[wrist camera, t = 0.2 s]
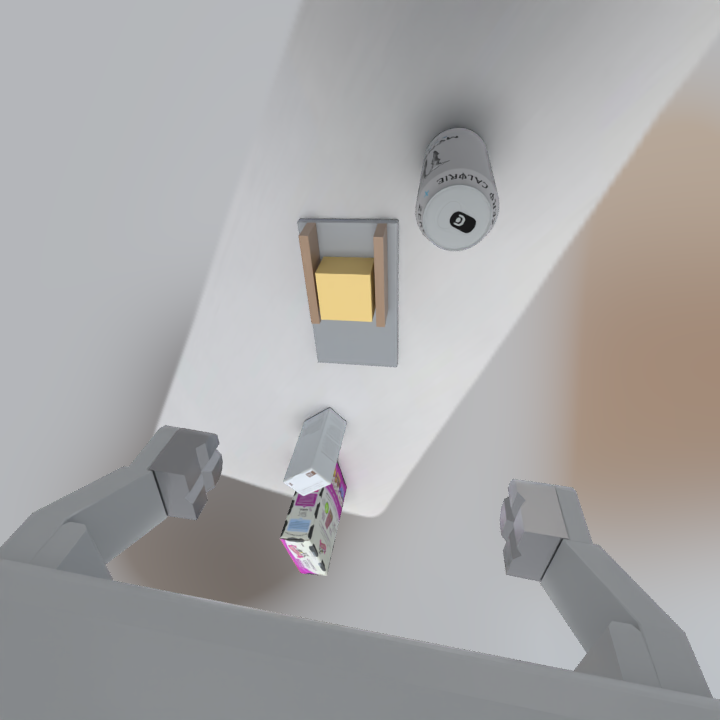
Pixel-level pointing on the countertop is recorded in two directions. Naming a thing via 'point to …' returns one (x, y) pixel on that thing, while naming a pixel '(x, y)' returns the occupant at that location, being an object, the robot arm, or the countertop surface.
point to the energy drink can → (456, 191)
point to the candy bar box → (314, 526)
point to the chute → (381, 243)
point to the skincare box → (316, 453)
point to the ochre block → (346, 288)
